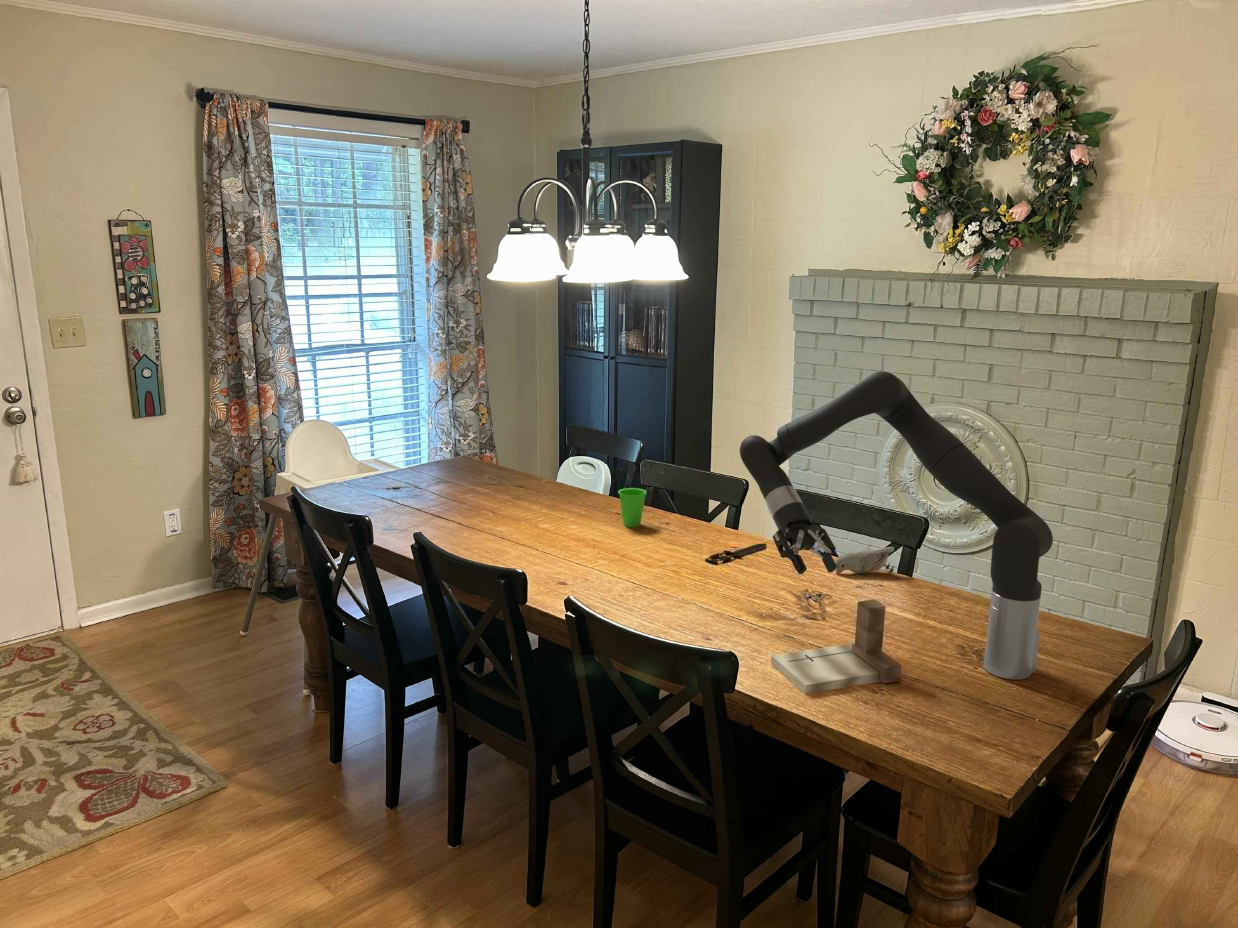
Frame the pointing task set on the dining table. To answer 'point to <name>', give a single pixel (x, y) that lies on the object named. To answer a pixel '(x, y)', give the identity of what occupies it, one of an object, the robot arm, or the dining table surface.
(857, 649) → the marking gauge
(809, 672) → the maple board
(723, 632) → the dining table surface
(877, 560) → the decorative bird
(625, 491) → the cup
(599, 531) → the dining table surface
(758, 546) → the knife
